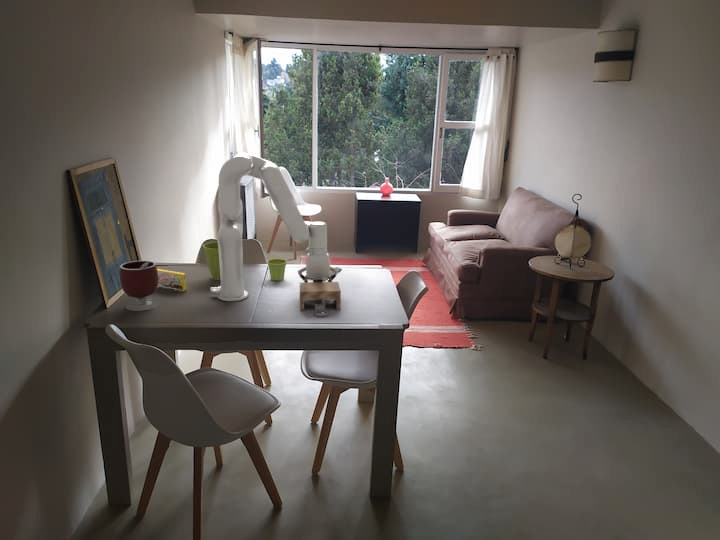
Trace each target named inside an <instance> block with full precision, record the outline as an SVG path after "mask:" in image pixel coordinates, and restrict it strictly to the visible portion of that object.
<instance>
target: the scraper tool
mask: <svg viewBox="0 0 720 540" xmlns="http://www.w3.org/2000/svg"><path fill="white" fill-rule="evenodd" d="M312 282H324V281H323V279H322V278H313V280H312ZM313 303H314V304H313V305H314V310H326V301H325V300H313Z"/></svg>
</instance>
